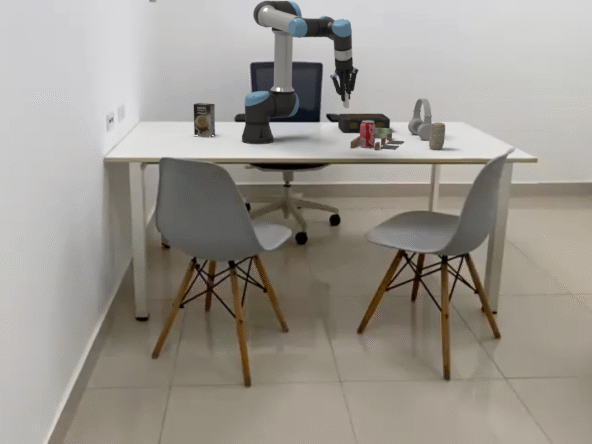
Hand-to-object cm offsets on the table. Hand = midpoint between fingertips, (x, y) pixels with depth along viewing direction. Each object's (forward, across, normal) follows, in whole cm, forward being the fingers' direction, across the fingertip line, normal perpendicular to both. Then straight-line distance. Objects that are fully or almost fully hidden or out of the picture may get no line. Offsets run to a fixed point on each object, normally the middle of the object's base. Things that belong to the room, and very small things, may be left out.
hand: (346, 106), depth 293 cm
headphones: (+37, +47, +8) cm, 60 cm away
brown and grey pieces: (+27, +18, +2) cm, 33 cm away
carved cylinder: (+26, +36, -19) cm, 48 cm away
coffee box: (+26, -51, +56) cm, 80 cm away
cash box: (+43, +31, +38) cm, 65 cm away
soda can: (+24, +9, -1) cm, 26 cm away
